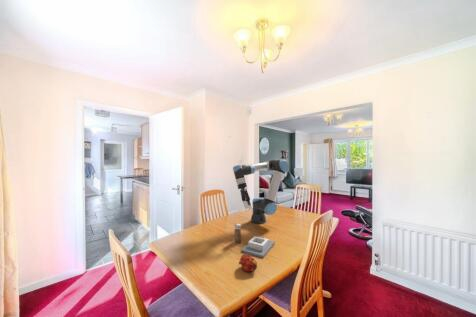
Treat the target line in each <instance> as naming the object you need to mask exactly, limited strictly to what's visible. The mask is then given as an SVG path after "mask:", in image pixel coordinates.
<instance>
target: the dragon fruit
mask: <svg viewBox="0 0 476 317" xmlns="http://www.w3.org/2000/svg"><path fill="white" fill-rule="evenodd" d="M239 260H240V261H238V265H241V269H242V271H246V272H247V273H253V271H256V269H258V264H257V263H258V262H257V260H255V259H254V258H253V257H252V255H250V254H247V253H244V254H242V255H241V256H240V258H239Z"/></svg>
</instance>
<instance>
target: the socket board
mask: <svg viewBox="0 0 476 317" xmlns="http://www.w3.org/2000/svg"><path fill="white" fill-rule="evenodd" d="M275 243H276V242H275V241H272V240H270V239H269V238H265V237H260V236H256V235H254V236H253V237H252V238H251V239H250V240H249V241H248V242H247V244H246V245H245V246H243V247H242V248H241V249H240V252H241V253H244V254H248V255H251V256H255V257H258V258H262V259H264V258H266V256H267V255H268V253H269V252H270V250H271V249H272V248H273V246H275Z"/></svg>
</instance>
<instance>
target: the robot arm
mask: <svg viewBox="0 0 476 317" xmlns="http://www.w3.org/2000/svg"><path fill="white" fill-rule="evenodd" d="M289 164H290V163H289V162H288V160H286V159H272V160H271V159H270V160H265V161H263V162H258V163H249V164H237V165H234V166H233V167H232V170H233V174H234V178H235V182H236V185H237V189H238V190H239V191H240V196H241V201H242V204H243V207H244V210H245V209H246V210H247V209H248V210H252V214H251V218H250V222H251V223H253V224H265V223H267V217H266V215H268V216H273V215H274V214H276V212H277V210H278V209H277V208H278V207H277V206H278V205H277V201H276V198H277V195H278V191H279V188H280V185H281V182H282V180H283V176H285V174H286V173H287V172H289V170H290V165H289ZM260 171H265V172H267V171H272V172H273V174H272V178H271V180H270V182H269V187H268V191H267V194H266V196H265V197H254V198H253V199H252V202H251V201H250V200H251V197H250V195H249V192H248V190H247V188H248V186H247V183H246V178H245V176H248V175H252V174H253V175H254V174H255V173H256V172H260Z"/></svg>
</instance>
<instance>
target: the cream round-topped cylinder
mask: <svg viewBox="0 0 476 317" xmlns="http://www.w3.org/2000/svg"><path fill="white" fill-rule="evenodd" d="M241 227H242V226H241V224H240V223H235V224H234V243H235V244H241V243H242V242H241V241H242V240H241V239H242V238H241V234H242V232H241V230H242V228H241Z"/></svg>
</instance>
